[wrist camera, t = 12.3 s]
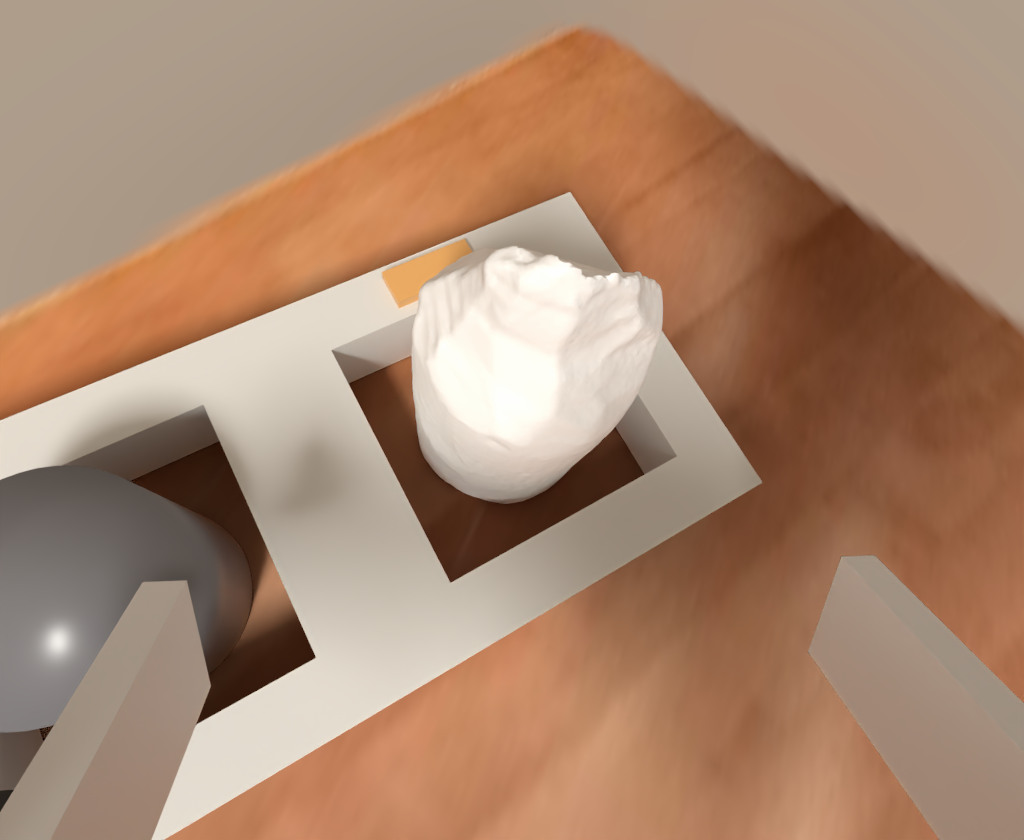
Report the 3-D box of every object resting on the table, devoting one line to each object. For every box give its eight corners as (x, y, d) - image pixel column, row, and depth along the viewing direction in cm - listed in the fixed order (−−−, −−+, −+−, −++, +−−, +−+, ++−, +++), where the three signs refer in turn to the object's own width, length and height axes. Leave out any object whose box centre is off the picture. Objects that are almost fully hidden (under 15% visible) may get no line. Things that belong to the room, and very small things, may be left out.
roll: (695, 102, 12) (774, 363, 11) (567, 353, 24) (595, 498, 22) (386, 109, 11) (420, 398, 10) (408, 368, 23) (425, 521, 21)
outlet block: (721, 500, 22) (818, 457, 17) (8, 923, 16) (-217, 1080, 11) (554, 241, 25) (589, 128, 19) (-111, 521, 19) (-342, 476, 13)
